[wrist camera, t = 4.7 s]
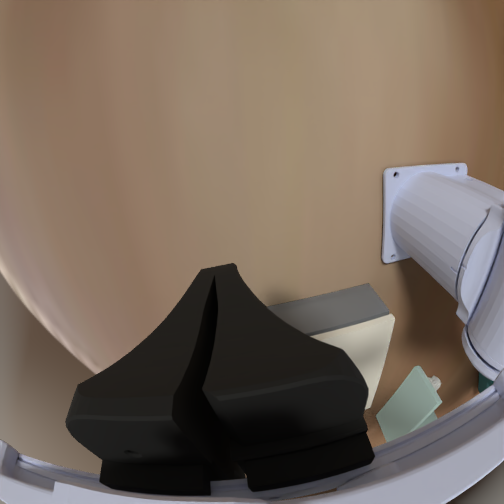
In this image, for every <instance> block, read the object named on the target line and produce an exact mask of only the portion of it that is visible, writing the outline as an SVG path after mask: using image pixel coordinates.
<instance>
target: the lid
mask: <svg viewBox="0 0 504 504" xmlns="http://www.w3.org/2000/svg"><path fill="white" fill-rule="evenodd" d="M394 322H395V318H394V316H393V315H392V314H389V315H386V316H383V317H380V318H376V319H373V320H370V321H366V322H363V323H359V324H356V325H352V326H349V327H345V328H341V329H337V330H334V331H330V332H326V333H322V334H318V335H314V336H310V337H312V338H315V339H317V340H320V341H322V342H325V343H328V344H330V345H333V346H336V347H338V348H341V349H343V350H344V351H345V352H346V353H347V355H348V356H349V357H350V358H351V360H352V361H353V362H354V364H355V365H356V367H357V368H358V369H359V371H360V372H361V374H362V376H363V377H364V379H365V381H366V384H367V386H368V388H369V395H368V400H367V403H366V407H365V409H367V408H370V407H371V404H372V401H373V398H374V395H375V392H376V389H377V386H378V383H379V380H380V376H381V373H382V369H383V366H384V362H385V359H386V355H387V351H388V347H389V343H390V339H391V335H392V331H393V326H394Z"/></svg>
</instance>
